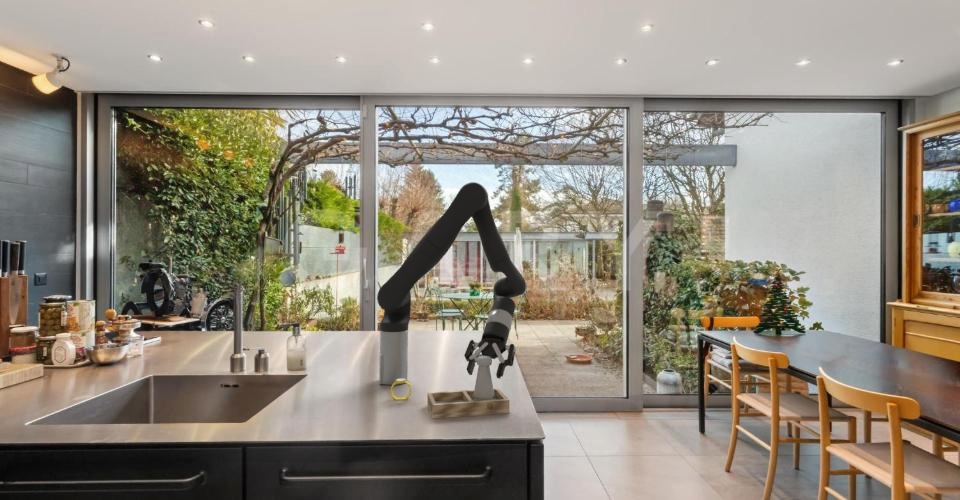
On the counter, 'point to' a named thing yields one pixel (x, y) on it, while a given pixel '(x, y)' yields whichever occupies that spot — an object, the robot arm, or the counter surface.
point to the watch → (400, 382)
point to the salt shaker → (484, 380)
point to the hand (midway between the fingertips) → (483, 375)
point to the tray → (465, 404)
